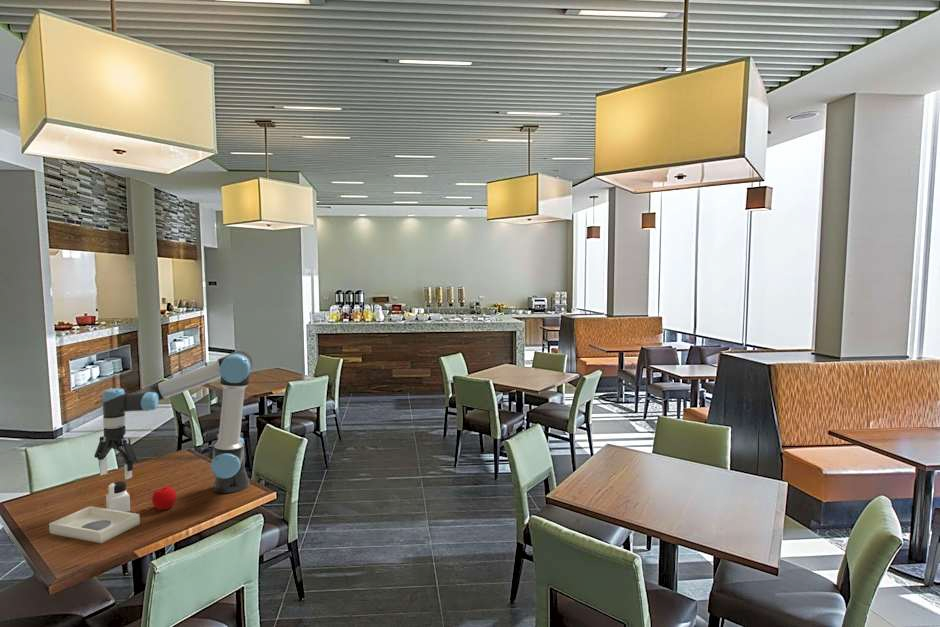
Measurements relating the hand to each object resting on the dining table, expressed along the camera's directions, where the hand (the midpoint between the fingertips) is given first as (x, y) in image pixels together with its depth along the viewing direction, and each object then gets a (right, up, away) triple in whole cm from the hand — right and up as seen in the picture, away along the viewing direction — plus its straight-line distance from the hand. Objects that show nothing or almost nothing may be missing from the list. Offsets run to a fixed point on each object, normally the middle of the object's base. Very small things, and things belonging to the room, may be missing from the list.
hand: (116, 476), depth 219 cm
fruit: (+18, -15, +4) cm, 24 cm away
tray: (+2, -16, -15) cm, 22 cm away
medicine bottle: (0, -15, +1) cm, 15 cm away
